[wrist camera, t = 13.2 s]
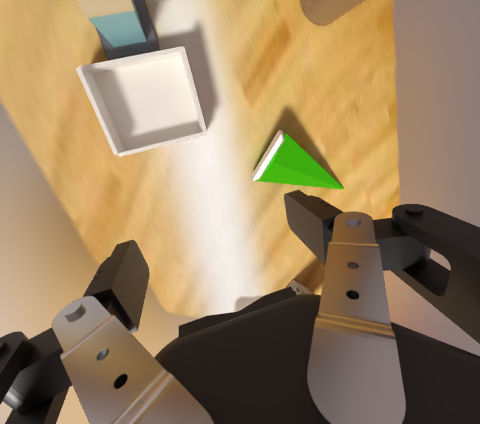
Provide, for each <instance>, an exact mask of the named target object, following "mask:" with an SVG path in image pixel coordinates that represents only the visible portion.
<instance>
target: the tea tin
mask: <svg viewBox="0 0 480 424" xmlns="http://www.w3.org/2000/svg"><path fill="white" fill-rule="evenodd" d="M78 2H79V5H80V7H81V10H82V12H83V15H84V16H85V17H86V18H87V19H89V20H90V21H91V22H92V23H93V24H94V25H95V26H96V28H97V29H98V30H99V31H100V32H101V33H102V34H103V36H104V37H105V38H106V39H107V40H108V41H109V42H110V43H111V45H112V46H113V47H119V46H125V45H130V44H135V43H141V42H146V38H145V35H144V32H143V29H142V26H141V22H140V19H139V16H138V13H137V10H136V7H135V4H134V1H133V0H78Z"/></svg>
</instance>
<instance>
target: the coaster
mask: <svg viewBox="0 0 480 424" xmlns="http://www.w3.org/2000/svg"><path fill="white" fill-rule="evenodd" d="M133 1H134V4H135V7H136V10H137V13H138V16H139V19H140V22H141V26H142V29H143V32H144V35H145V38H146V42H141V43H135V44H130V45H125V46H119V47H113V46H112V45H111V43H110V42H109V41H108V40H107V39H106V38H105V37H104V36H103V34H102V33H101V32H100V31H99V30H98V29H97V28H96V30H97V32H98V35H99V37H100V40H101V42H102V45H103V48H104V50H105V53H106V55H107V58H108V60H113V59H118V58H123V57H128V56H133V55H138V54H143V53H148V52H154V51H159V47H158V44H157V41H156V37H155V34H154V31H153V28H152V24H151V21H150V18H149V14H148V11H147V8H146V5H145V1H144V0H133ZM95 27H96V26H95Z"/></svg>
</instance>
